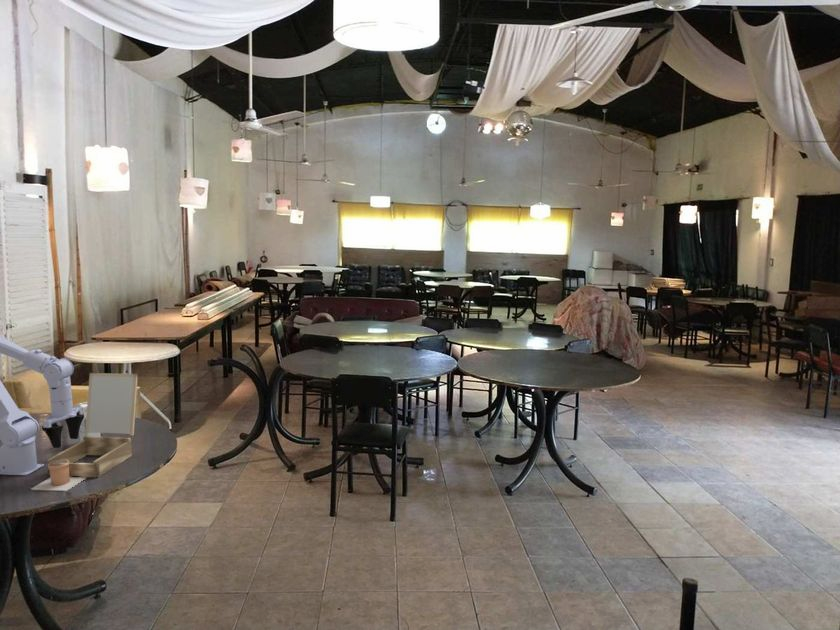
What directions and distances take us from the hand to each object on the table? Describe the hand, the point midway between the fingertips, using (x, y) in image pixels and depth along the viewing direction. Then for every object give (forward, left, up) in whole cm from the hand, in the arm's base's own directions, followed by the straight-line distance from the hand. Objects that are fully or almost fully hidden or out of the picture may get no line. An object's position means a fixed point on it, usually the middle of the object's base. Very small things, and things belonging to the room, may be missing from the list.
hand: (65, 442), depth 192 cm
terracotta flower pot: (+3, -8, -9) cm, 13 cm away
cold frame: (+4, +6, -9) cm, 12 cm away
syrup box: (-9, +24, -10) cm, 27 cm away
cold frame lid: (+4, +18, +7) cm, 20 cm away
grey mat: (+3, -9, -9) cm, 13 cm away
